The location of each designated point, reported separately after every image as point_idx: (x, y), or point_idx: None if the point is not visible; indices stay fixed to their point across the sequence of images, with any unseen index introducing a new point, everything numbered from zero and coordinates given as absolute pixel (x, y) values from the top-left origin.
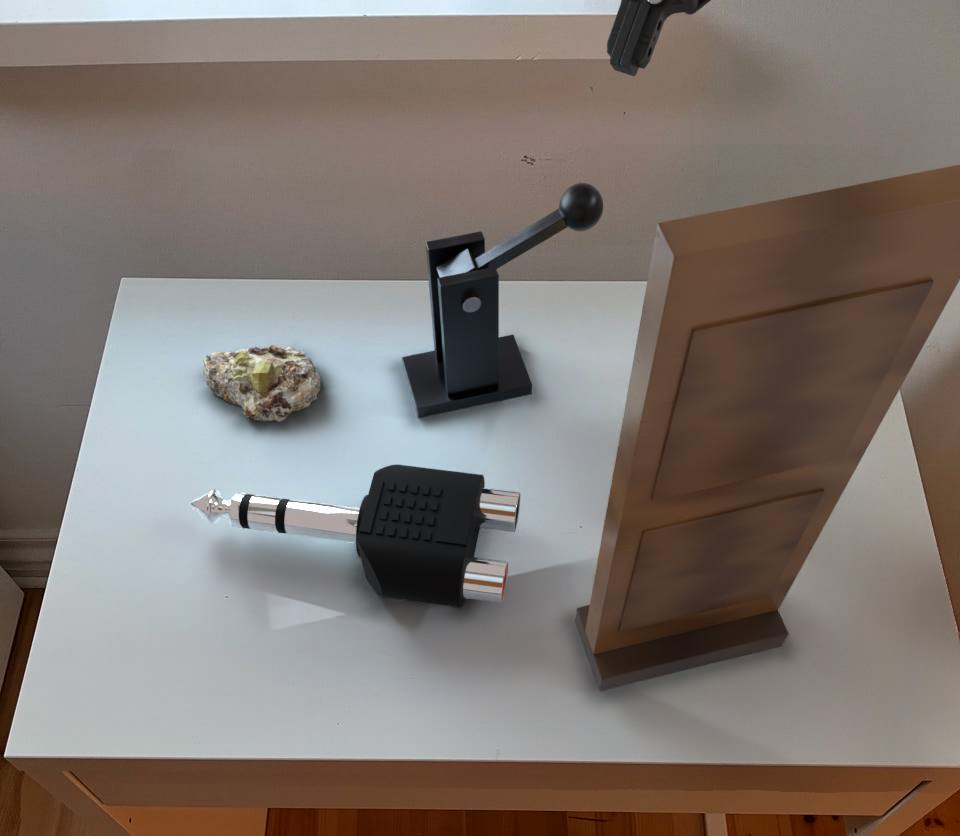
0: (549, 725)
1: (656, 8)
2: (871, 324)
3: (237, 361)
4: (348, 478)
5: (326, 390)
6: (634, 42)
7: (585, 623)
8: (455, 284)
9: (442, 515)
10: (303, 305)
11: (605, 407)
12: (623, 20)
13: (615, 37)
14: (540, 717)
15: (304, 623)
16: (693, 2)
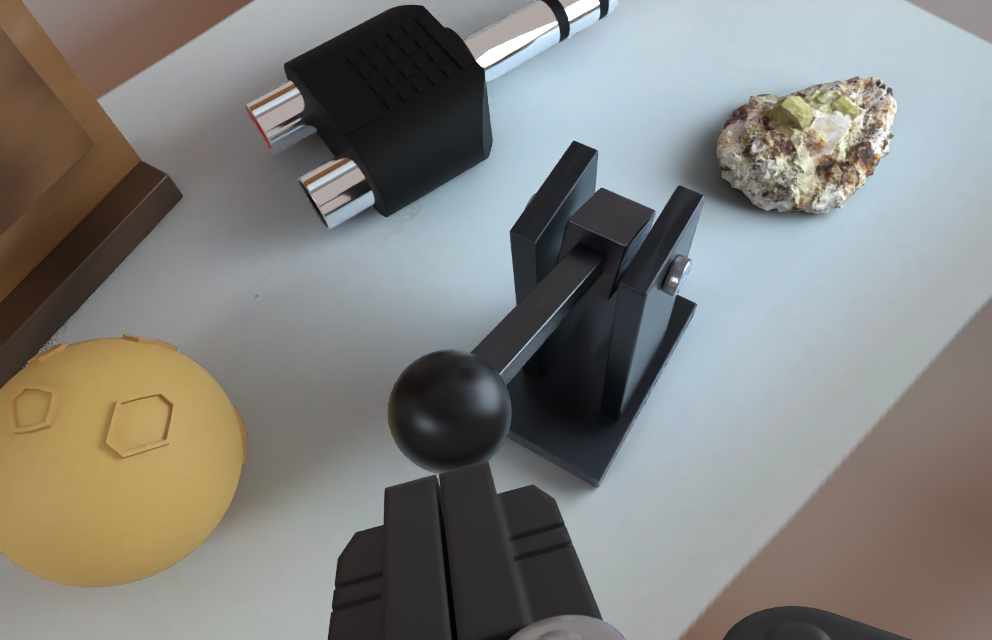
0: (140, 100)
1: None
2: None
3: (839, 95)
4: (571, 141)
5: (734, 207)
6: (396, 529)
7: (146, 167)
8: (558, 163)
9: (357, 84)
10: (941, 289)
11: (363, 495)
12: (505, 545)
13: (526, 526)
14: (153, 100)
15: (445, 9)
16: None
